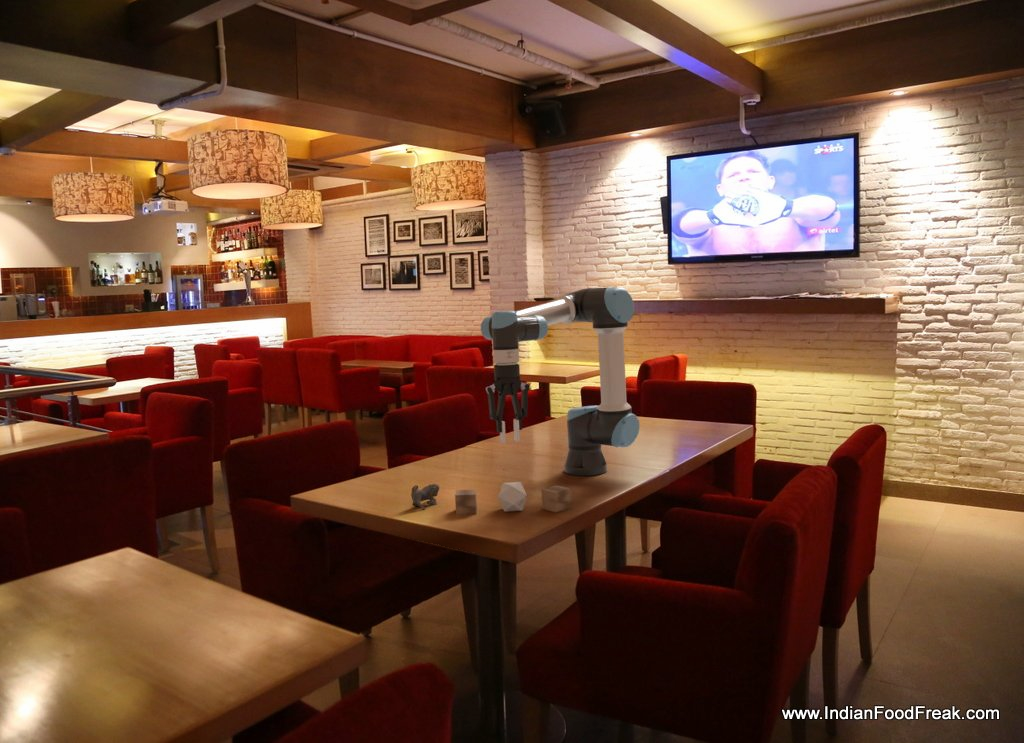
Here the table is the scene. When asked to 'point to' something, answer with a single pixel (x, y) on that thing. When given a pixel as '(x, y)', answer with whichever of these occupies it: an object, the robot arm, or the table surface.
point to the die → (512, 496)
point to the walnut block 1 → (466, 502)
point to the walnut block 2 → (556, 498)
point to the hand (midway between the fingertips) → (510, 441)
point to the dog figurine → (424, 495)
